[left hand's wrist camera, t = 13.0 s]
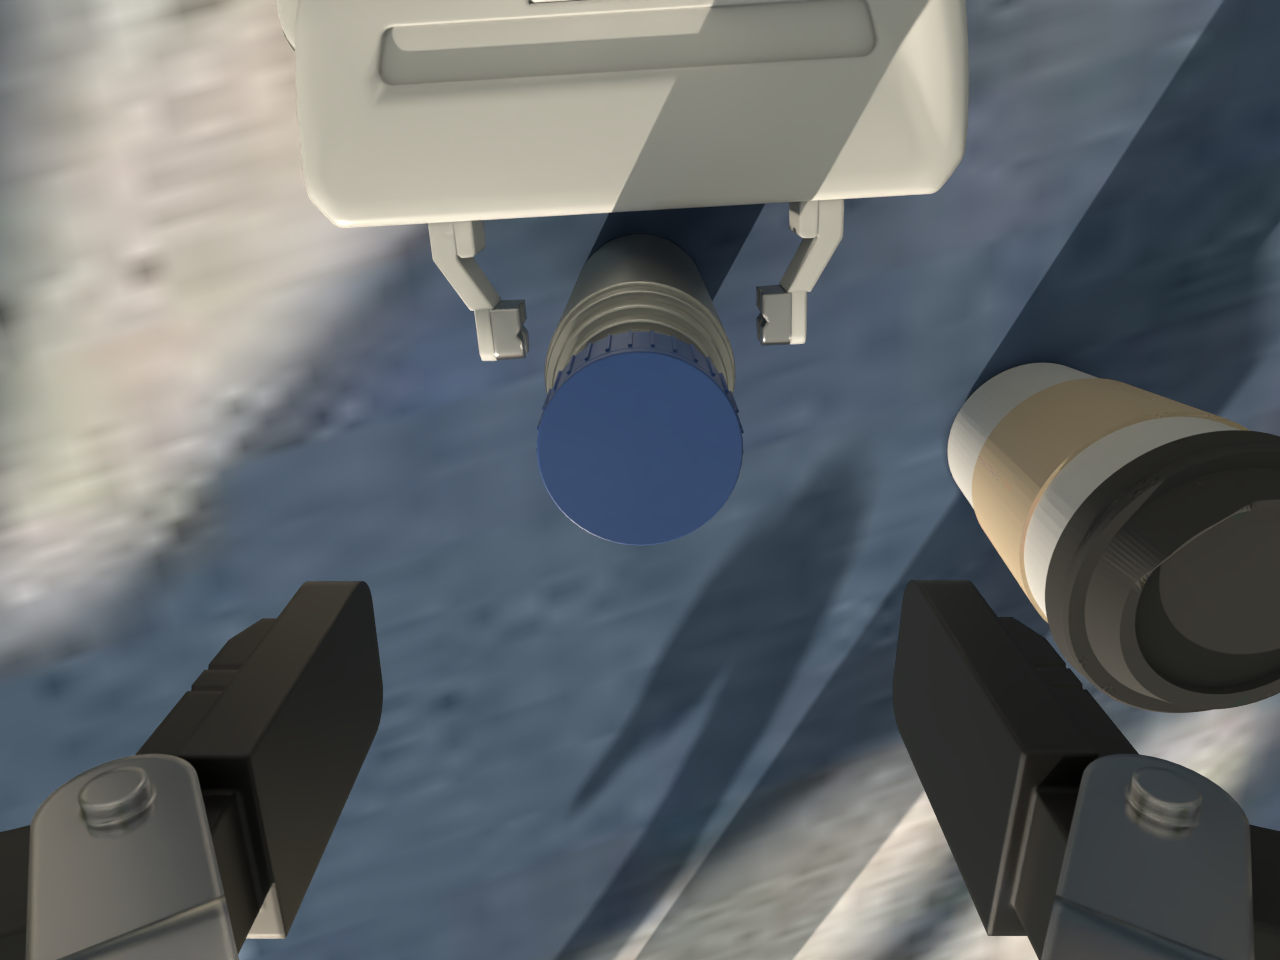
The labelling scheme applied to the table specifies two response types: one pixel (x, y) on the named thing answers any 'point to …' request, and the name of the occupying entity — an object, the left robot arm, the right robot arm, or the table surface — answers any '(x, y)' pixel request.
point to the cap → (639, 439)
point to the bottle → (640, 303)
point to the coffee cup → (1132, 532)
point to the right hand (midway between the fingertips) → (642, 349)
